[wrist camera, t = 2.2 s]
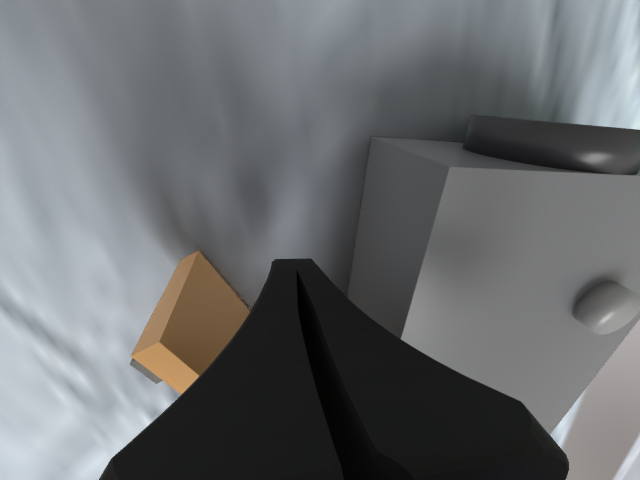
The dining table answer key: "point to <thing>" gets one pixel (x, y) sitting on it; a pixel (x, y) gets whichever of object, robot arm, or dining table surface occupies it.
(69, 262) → the dining table surface
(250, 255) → the dining table surface
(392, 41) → the dining table surface
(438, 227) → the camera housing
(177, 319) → the tan piece
